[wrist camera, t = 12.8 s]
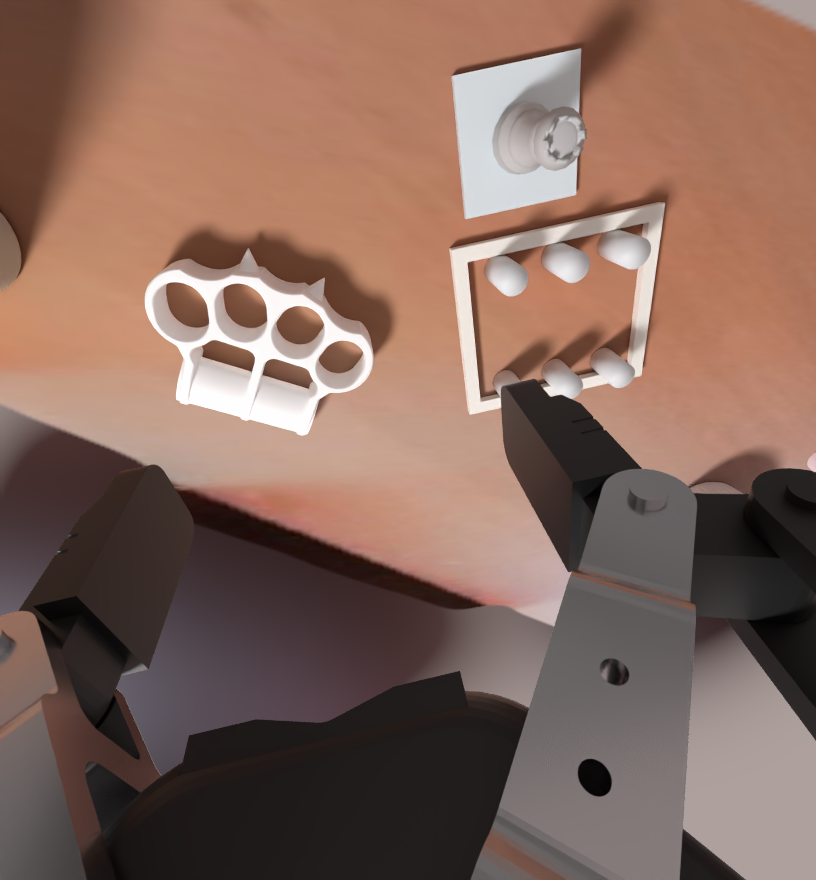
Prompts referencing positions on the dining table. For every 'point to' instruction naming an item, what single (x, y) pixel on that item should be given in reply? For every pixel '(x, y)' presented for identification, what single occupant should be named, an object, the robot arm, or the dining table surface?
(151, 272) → the dining table surface
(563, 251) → the frame
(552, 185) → the tile
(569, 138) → the rook chess piece
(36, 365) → the dining table surface
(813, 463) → the smoothie
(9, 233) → the travel mug
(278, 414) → the white holed part
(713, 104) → the dining table surface
